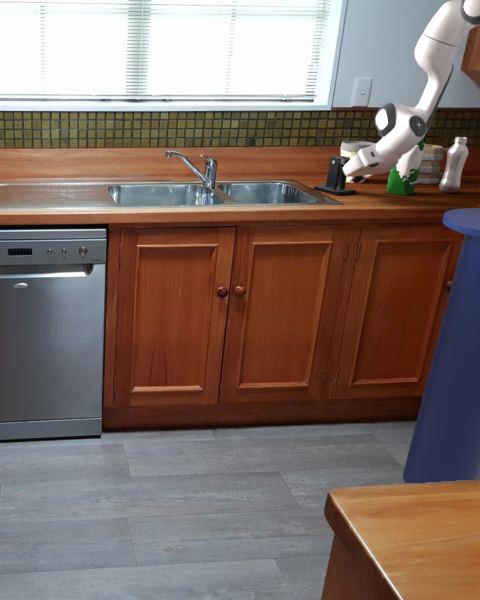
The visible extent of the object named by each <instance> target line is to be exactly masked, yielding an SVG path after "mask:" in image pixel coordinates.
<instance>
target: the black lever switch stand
mask: <svg viewBox="0 0 480 600" xmlns="http://www.w3.org/2000/svg"><path fill="white" fill-rule="evenodd" d="M340 157H342V158H343V159H344V160H345V164H346V163H347V162H348V161H349V160H350V157H346V156H341V155H338V156H334V155H331V156H330V160H329V165H328V172H327V177H326V183H325V184H319V185H313V190H315V191H320V192H323V193H326V194H330V195H334V196H337V197H338V196H346V195H355V194H357V191H358V190H357V189H353V188H349V187H346V185H347V184H346V183H347V182H346V178H347V177H346V176H345V174H344V172H343V167H342V166H341V167H340V165H341V160H342V158H340Z"/></svg>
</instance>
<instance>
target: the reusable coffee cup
mask: <svg viewBox="0 0 480 600" xmlns="http://www.w3.org/2000/svg"><path fill="white" fill-rule="evenodd" d="M374 144H376V143H375V142H371V141H364V140H343V141H342V142H341V145H340V147H339V148H340V156H346V157H350V160H351V159H352V158H353V157H354V156H356V155H358V151H359V150H360V149H362V148H366V147H369V146H372V145H374ZM364 182H365V180H361V181H360V182H358V183H357V184H361V183H364ZM346 183H350V184H356V183H355V182H353V181H348V180H347V178H346Z"/></svg>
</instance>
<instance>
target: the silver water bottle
mask: <svg viewBox="0 0 480 600" xmlns="http://www.w3.org/2000/svg"><path fill="white" fill-rule="evenodd" d="M467 143H468V137H466V136H455V138H454V144H452V146H450V147H449V148H450V149H449V150H448V153H446V154H447V155H446V163H445V167H444V168H445V169H444V172H443V173H444V175H443V178H441V180H440V181H439V183H438V184H439V186H438V189H439V191H441V192H444V193H449V194H450V193H457V192H458V191H459V189H460V187H461V178H462V174H463V173H462V172H463V168H464V166H465V163H466V161H467V158H468V155H469V149H468V146H467V145H466V144H467Z"/></svg>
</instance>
